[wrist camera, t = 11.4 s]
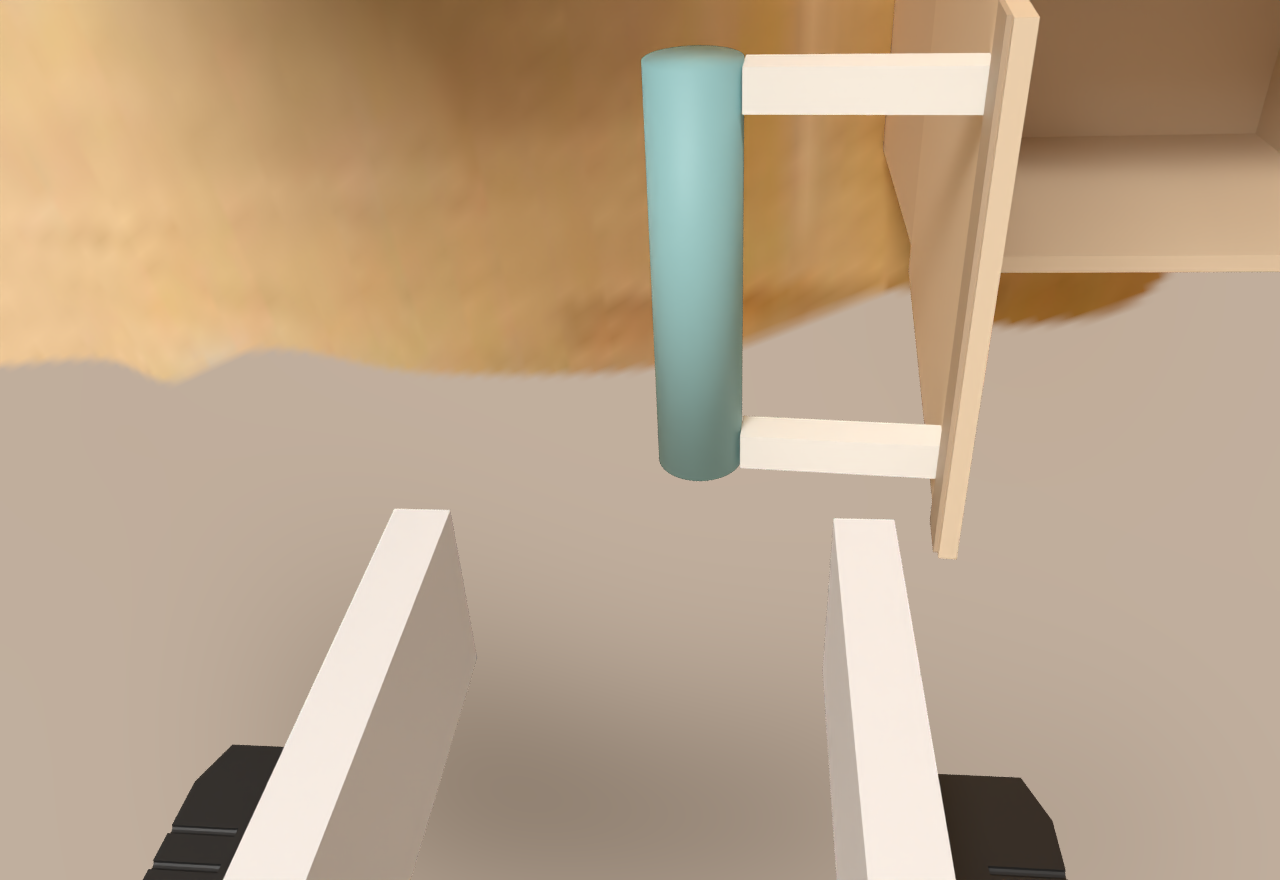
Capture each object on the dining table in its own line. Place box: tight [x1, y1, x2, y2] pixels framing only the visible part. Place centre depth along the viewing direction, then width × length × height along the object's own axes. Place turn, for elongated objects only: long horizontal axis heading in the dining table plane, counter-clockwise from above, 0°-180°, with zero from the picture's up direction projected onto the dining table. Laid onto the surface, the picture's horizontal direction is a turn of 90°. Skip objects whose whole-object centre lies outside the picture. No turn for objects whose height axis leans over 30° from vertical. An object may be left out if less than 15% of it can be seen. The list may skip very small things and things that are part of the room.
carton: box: [883, 0, 1280, 273], centre depth 38 cm, size 16×12×13 cm
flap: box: [641, 0, 1040, 559], centre depth 27 cm, size 15×12×7 cm
